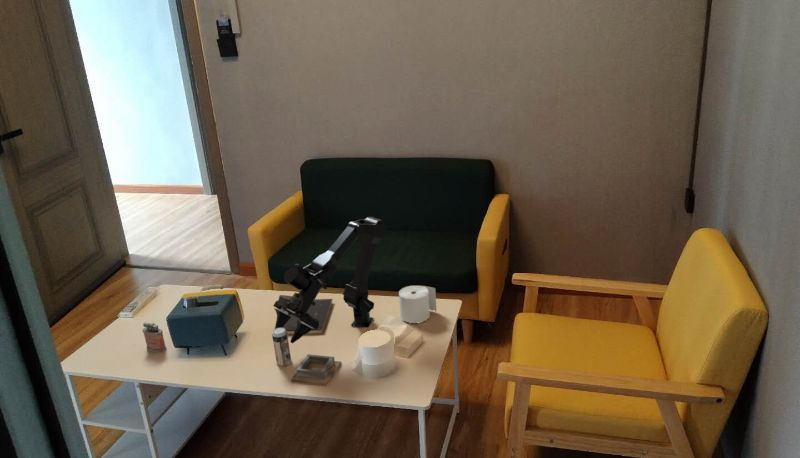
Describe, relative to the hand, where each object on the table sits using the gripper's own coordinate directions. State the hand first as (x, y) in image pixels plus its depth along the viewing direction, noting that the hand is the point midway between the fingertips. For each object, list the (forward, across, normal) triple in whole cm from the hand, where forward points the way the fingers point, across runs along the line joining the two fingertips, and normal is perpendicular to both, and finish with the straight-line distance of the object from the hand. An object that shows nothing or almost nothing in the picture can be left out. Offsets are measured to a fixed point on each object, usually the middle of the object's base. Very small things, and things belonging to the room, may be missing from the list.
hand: (283, 337), depth 199 cm
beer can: (+7, 0, +6) cm, 9 cm away
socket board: (+4, +13, +8) cm, 16 cm away
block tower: (+10, -48, +3) cm, 49 cm away
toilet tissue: (-28, +12, +40) cm, 51 cm away
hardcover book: (-9, -19, +22) cm, 30 cm away
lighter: (+25, -42, -11) cm, 50 cm away
